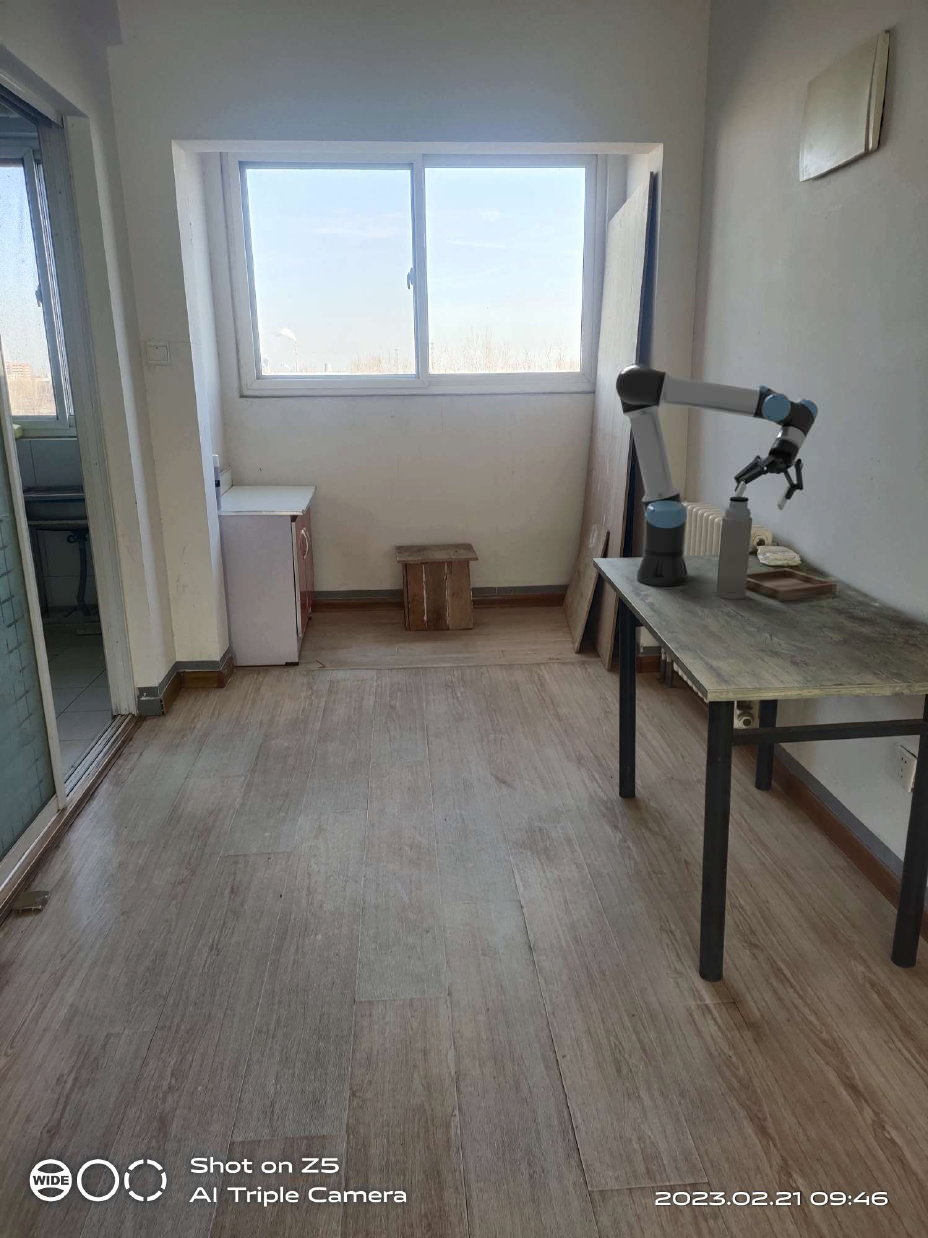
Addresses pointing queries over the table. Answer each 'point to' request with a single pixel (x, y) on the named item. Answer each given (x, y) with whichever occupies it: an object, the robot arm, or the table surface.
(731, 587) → the thermos bottle
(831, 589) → the walnut tray
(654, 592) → the table surface
